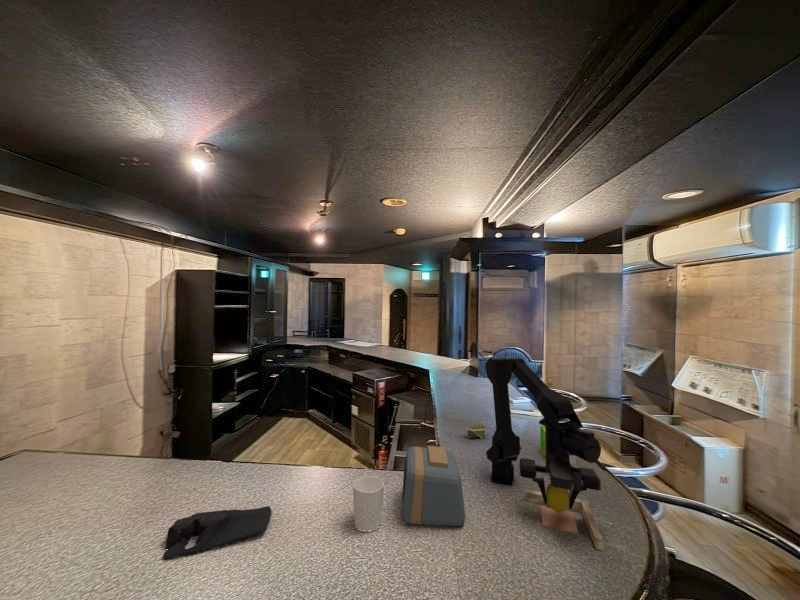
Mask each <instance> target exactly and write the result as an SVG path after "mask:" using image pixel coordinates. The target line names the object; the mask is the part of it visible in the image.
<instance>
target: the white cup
mask: <svg viewBox="0 0 800 600" xmlns="http://www.w3.org/2000/svg"><path fill="white" fill-rule="evenodd" d="M384 485H385V483H384V480H383V479H382V478H380V477H378V476H373V475H365V476H362V477H359V478H356V479H355V480H354V482H353V484H352V492H353V493H352V495H353V499H352V500H353V517H354V519H353V520H354V521H353V522H355V523H354V527H355V526H356V527H357V528H358V529H361V530H364V531H365V530H366V531H368V530H373V529H376V528H377V527H378V526H379V525H380V526H381V524H382V513H383V502H384V487H385V486H384ZM380 523H381V524H380ZM358 529H357V530H358ZM376 530H377V529H376Z"/></svg>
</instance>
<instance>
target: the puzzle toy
mask: <svg viewBox="0 0 800 600" xmlns="http://www.w3.org/2000/svg"><path fill="white" fill-rule="evenodd" d="M539 428H540V429H539V430H540V432H539V433H540V452H541V454H542V453H543V454H542V456H543V457H544V458H545V459H544V460H546V449H545V426H544V425H540V427H539ZM569 459H570V464H571V465H573V466H574V465H575V466H577V456H575V455H573V454H571V453H569Z"/></svg>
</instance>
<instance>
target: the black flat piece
mask: <svg viewBox="0 0 800 600" xmlns="http://www.w3.org/2000/svg"><path fill="white" fill-rule="evenodd" d="M271 517H272V508H271V507H270V506H269V505H267V506H262V507H258V508H250V509H249V508H248V509H229V510H227V509H225V510H224V509H222V510H214V511H211V510H210V511H205V512H197V513H193V514H192V515H190V516H188V517H183V518H179V519H177V520H176V521H174V523H173V524H172V525H171V526H170V527H169V528H168V530H167V535H166V542H165V548H164V554H163V556H162V557H161V558H162V559H163V560H172V558H173V557H174V558H175V557H176V556H177V557H181V556H189V555H195V554H199V553H203V552H205V550H207V551H206V552H208V551H210V550H212V549H213V548H214V547H215V548H219V546H220V547H224V545H225V546H228V544H231V545H232V544H236V542H237V543H239V542H238V541H241V542H244V540H245V541H247V540H250V539H249V538H251V537H252V538H254V536H255V537H258V536H260V535H262V534H264V533H265V532H266V530H267V528H268V526H269V523H270V521H271ZM257 535H258V536H257ZM193 537H196V542H195V545H194V544H193V546H190V547H188V548H186V546H187V545H188V544H189V543H190V542H189V541H191V539H192V538H193ZM252 538H251V539H252ZM246 539H247V540H246ZM215 548H214V549H215ZM166 549H168V550H166ZM177 557H176V558H177ZM174 558H173V559H174Z"/></svg>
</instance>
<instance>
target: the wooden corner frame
mask: <svg viewBox="0 0 800 600" xmlns="http://www.w3.org/2000/svg"><path fill="white" fill-rule="evenodd" d="M525 501H526V502H530V503H534V504H539V505H544V506H549V507H544V506H540V507H539V509H540V517H541V522H542V527H543V528H548V529H552V530H556V531H560V532H564V533H565V532H566V533H570V534H574V535H579V530H578V526H577V523H576V520H575V517H574V514H573V512H574V511H575V512H579V513H581V514H582V517H583V519H584V522H585V525H586V528H587V529H588V530H587V531H588V533H589V535H590V538H591V541H592V543H593V546H594V549H595V550H599V551H604V540H603V539H604V538H603V536H602V534H601V532H600V530H599V527H598V525H597V523H596V520H595V518H594V514H593V512H592V510H591V509H590V506H589V503H588V502H587V500H583V499H578V498H576V499H575V502H574V504H573V507H572V509H569V506H568V508H567V509H566V510H569V511H573V512H569V511H566V510H565V511H563V512H559V513H557V512H556V511H555V510H554V509H552V508H551V507H550V505H549V504H548V502H547V504H545V503H544V500H543V496H542V493H541V491H535V490H530V489H525Z"/></svg>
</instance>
